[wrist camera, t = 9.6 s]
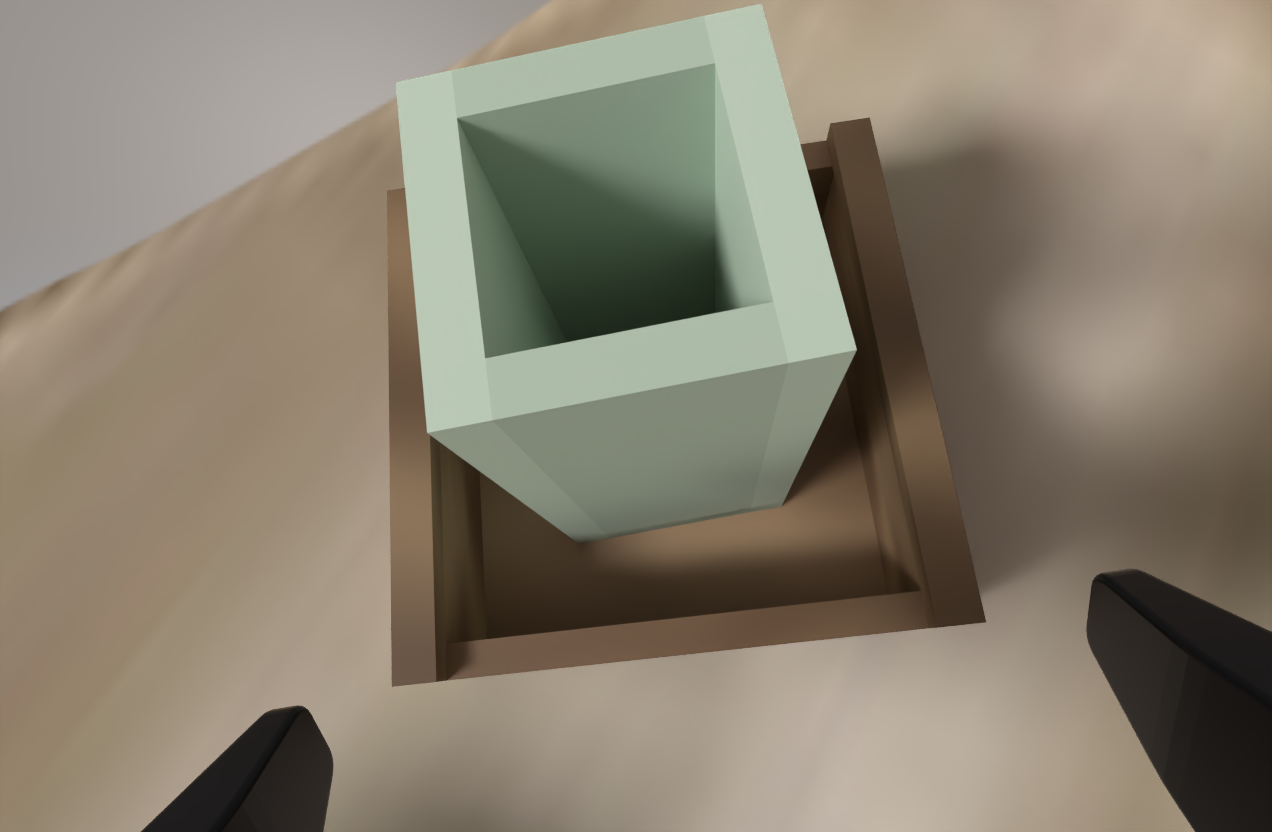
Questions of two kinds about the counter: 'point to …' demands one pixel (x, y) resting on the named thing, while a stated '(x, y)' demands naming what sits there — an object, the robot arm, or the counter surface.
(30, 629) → the counter surface
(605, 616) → the walnut crate
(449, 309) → the sage crate
